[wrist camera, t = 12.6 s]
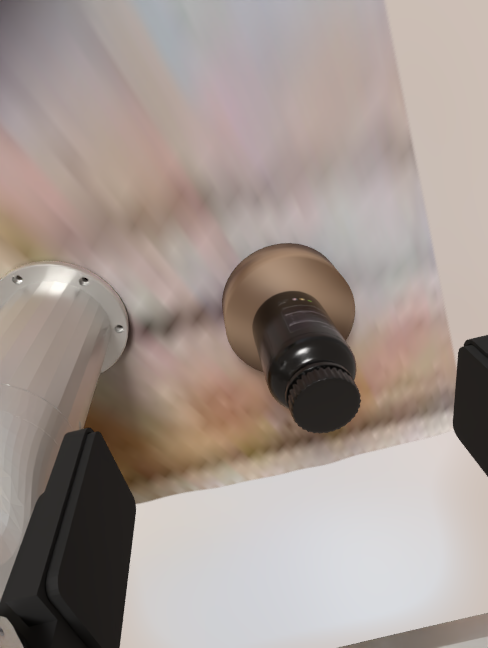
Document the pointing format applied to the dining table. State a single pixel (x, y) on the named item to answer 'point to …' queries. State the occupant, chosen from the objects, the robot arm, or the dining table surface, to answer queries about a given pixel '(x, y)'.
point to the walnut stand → (279, 276)
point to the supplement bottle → (306, 361)
